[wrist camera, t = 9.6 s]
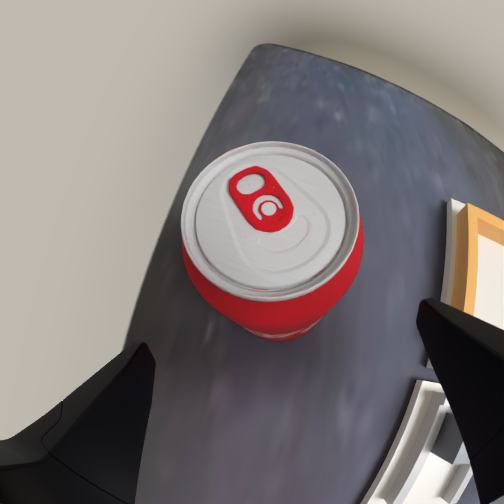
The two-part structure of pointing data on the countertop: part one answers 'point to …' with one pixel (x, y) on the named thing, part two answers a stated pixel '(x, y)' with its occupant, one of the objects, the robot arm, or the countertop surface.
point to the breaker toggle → (450, 442)
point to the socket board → (474, 263)
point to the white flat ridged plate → (419, 457)
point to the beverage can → (272, 237)
